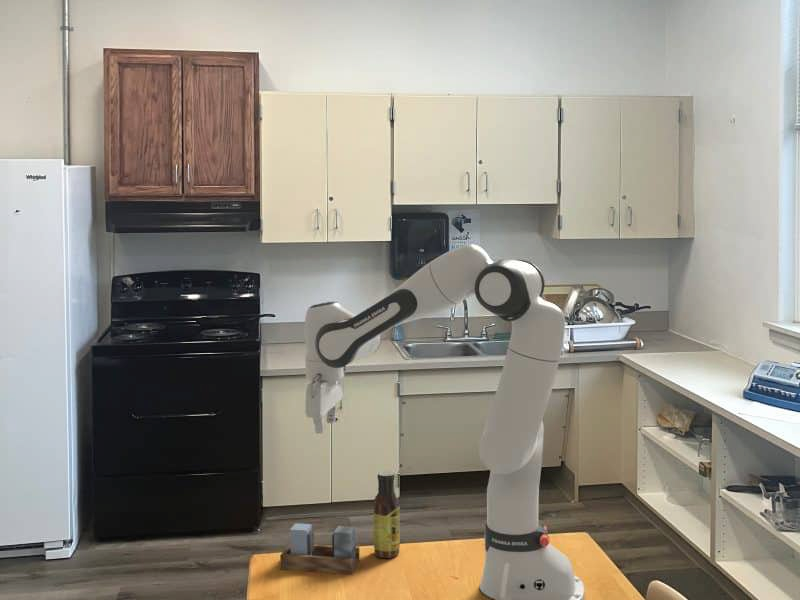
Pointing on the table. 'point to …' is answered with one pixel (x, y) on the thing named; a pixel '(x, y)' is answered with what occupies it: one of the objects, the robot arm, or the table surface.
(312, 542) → the blue grey rectangular block
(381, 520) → the sauce bottle
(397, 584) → the table surface
